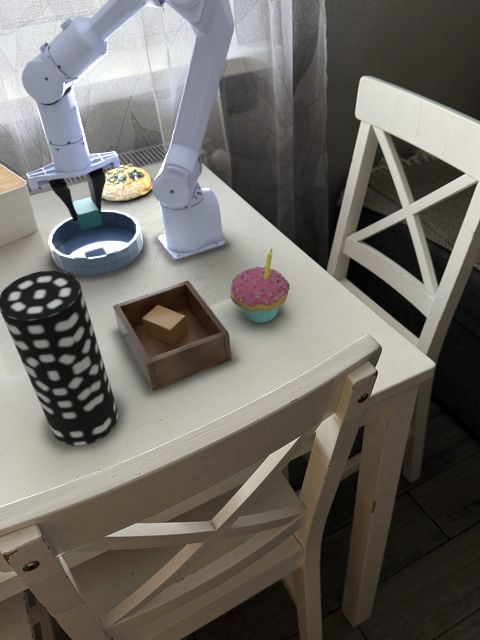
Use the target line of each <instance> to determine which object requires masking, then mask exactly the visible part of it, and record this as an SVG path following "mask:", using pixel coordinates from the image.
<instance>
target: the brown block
mask: <svg viewBox="0 0 480 640" xmlns="http://www.w3.org/2000/svg"><path fill="white" fill-rule="evenodd" d="M142 320H143V324H144V329H145V333H146V334H147V335H149V336H152V337H154V338H156V339H158V340H161V341H163V342H165V343H168V344H170V345H172V346H173V345H174V344H175V343H176V342H177V341H178V340H179V339H180V338H181V337H183V336H184V335H185V334H186V333H187V332H188V330H187V324H186V317H185V316H184V315H182V314H180V313H177V312H175V311H172V310H170V309H167V308H165V307H162V306H160V305H157V306H156V307H155V308H154V309H152V310H151V311H150V312H149V313H148V314H147V315H145V316H144V317H143V318H142Z"/></svg>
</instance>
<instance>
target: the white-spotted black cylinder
mask: <svg viewBox="0 0 480 640" xmlns="http://www.w3.org/2000/svg"><path fill="white" fill-rule="evenodd" d="M0 314H1V316H2V319H3V321H4V323H5V325H6V327H7V331H8V332H9V335H10V337H11V339H12V342H13V344H14V346H15V348H16V349H15V350H16V351H17V353H18V356H19V358H20V360H21V363H22V365H23V367H24V370H25V372H26V374H27V377H28V379H29V381H30V384H31V386H32V388H33V390H34V392H35V395H36V397H37V399H38V403H39V405H40V407H41V409H42V412H43V414H44V416H45V418H46V421H47V424H48V425H49V428H50V430H51V432H52V435H54V436H53V437H55V438H56V439H57V440H58V441H60V442H61V443H63V444H66V445H70V446H85V445H90V444H93V443H96V442H97V441H99V440H101V439H103V438H104V437H106V436H107V435H108V434H110V432H111V431H112V430H113V429H114V428H115V427H116V424H117V422H118V419H119V410H118V406H117V402H116V399H115V396H114V392H113V390H112V386H111V382H110V380H109V376H108V373H107V370H106V366H105V363H104V359H103V356H102V353H101V350H100V346H99V343H98V339H97V336H96V333H95V329H94V326H93V323H92V320H91V316H90V313H89V309H88V306H87V302H86V299H85V297H84V293H83V289H82V286H81V283H80V281H79V280H78V278H77V277H76V276H74V274H72V273H69V272H66V271H63V270H41V271H36V272H32V273H29V274H26V275H22V276H21V277H19V278H17V279H15V280H14V281H12V282H11V283H9V284H8V285H7V286H6V287H5V288H4V289H3V290H2V291H1V292H0Z"/></svg>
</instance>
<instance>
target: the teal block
mask: <svg viewBox="0 0 480 640" xmlns="http://www.w3.org/2000/svg"><path fill="white" fill-rule="evenodd" d="M72 202H73V205H74V208H75V211H76V214H77V218H78V221H77V223H78V225H79V226H80V228H81V229H82V231H83V230H87V229H90V228H94V227H97V226H100V225H102V222H101V218H100V214H99V210H98V208H97V207H96V205H95V204H94V202H93V201H92V199H91V196H87V197H84V198H79V199H76V200H72Z"/></svg>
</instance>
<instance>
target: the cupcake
mask: <svg viewBox="0 0 480 640" xmlns="http://www.w3.org/2000/svg"><path fill="white" fill-rule="evenodd" d="M266 255H267V256H266V261H265V266H264V267H261V266H255V267H250V268H247V269H245V270H242V271H241V272H239V273H238V274H237V275H235V277H234V278H233V279H232V280H231V281H232V282H231V285H230V299H231V301H232V302H233V303H234V304H235V305H236V306H238V307H239V308H241V309H242V311H243V313H244V315H245V317H246V318H247V319H248V320H249V321H251V322H254V323H260V324H263V323H268V322H270V321H272V320H274V319H275V318H276V316H277V314H278V312H279V309H280V307H281V306H282V305H284V304H285V303H286V302H287V299H288V296H289V291H290V288H291V285H290V283H289V281H288V280H287V279H286V276H284V275H283V274H282V273H280V272H279V271H277V270H275V269H274V268H271V266H272V259H273V247H271V248H270V251H267V254H266Z"/></svg>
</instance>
